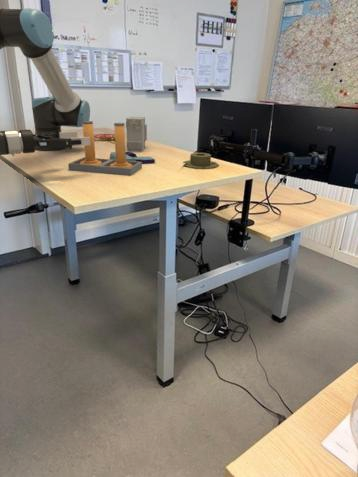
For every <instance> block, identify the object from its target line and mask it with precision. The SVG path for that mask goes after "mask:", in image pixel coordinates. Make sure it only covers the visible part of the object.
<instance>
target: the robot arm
mask: <svg viewBox="0 0 358 477" xmlns="http://www.w3.org/2000/svg"><path fill="white" fill-rule="evenodd" d="M54 39H55V34H54V31H53V26H52V23H51V21H50V19H49V18H48V16H47V15H46V14H45V13H44V12H43V11H42V10H39V9H36V8H29V7H26V8H25V7H24V8H0V50H2V49H4V48H8V47H11V48H19V50H20V51H21V53H22V54H23V56H24V57H25V58H28V59H30V60H31V62H32V63H33V65H34V66H35V69H36V70H37V72H38V74H39V75H40V78H41V79H42V80H43V82H44V84H45V86H46V87H47V89H48V90H49V92H50V95H51V96H44V97H42V96H41V97H35V98H33V99H31V110H32V115H33V116H32V118H33V122H34V130H35V133H33V131H32V130H31V129H20V130H17V129H9V130H8V129H7V130H0V156H5V155H6V156H7V155H11V156H12V157H14V156H16V155H19V154H20V155H21V154H22V153H23V154H34V153H35V152H36V151H37V150H38V151H58V150H64V149H70V150H72V149H73V147H82V146H83V147H84V146H85V145H90V137H84V136H82V137H81V136H80V137H78V136H79V135H78V131H62V127H67V128H68V127H70V128H83V121H90V117H91V107H90V103H89V102H88V101H87V100H85V99H84V100H82V99H81V97H80V95H79V94H78V93H77V92H74V91H73V89H72V87H71V85H70V82H69V81H68V79H67V77H66V75H65V74H64V71H63V69H62V67H61V66H60V64H59V61H58V60H57V57H56V56H55V54H54V52H53V50H52V48H53V45H54V44H53V43H54Z"/></svg>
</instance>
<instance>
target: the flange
mask: <svg viewBox="0 0 358 477" xmlns="http://www.w3.org/2000/svg"><path fill="white" fill-rule="evenodd" d="M189 158H190V159H189V160H186V161H183V162H182V164H183V165H182V166H183V167H185V168H188V169H193V170H212V169H217V168H219V163H217V162H215V161H212V154H210V153H206V152H193V153H192V152H191V153H190V156H189Z"/></svg>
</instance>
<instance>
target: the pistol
mask: <svg viewBox="0 0 358 477" xmlns="http://www.w3.org/2000/svg"><path fill="white" fill-rule="evenodd" d="M108 159H112V160H116V152H115V151H112V152H110V154H109V158H108ZM126 161H137V162H142V165H146V164H147V165H149V164H151V165H152V164H156V159H155V158H153V157H152V156H137V154H136V153H135V152H131V151H126Z"/></svg>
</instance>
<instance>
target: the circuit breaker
mask: <svg viewBox="0 0 358 477" xmlns="http://www.w3.org/2000/svg"><path fill="white" fill-rule="evenodd" d="M125 120H126V121H125V128H126V129H125V133H126V140H125V147H126V152H132V153H136V152H138V153H142V152H143V151H145V150H146V142H147V139H148V138H147V136H148V133H147V128H148V126H147V124H146V117H143V116H142V117H141V116H128V117H126V118H125Z"/></svg>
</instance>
